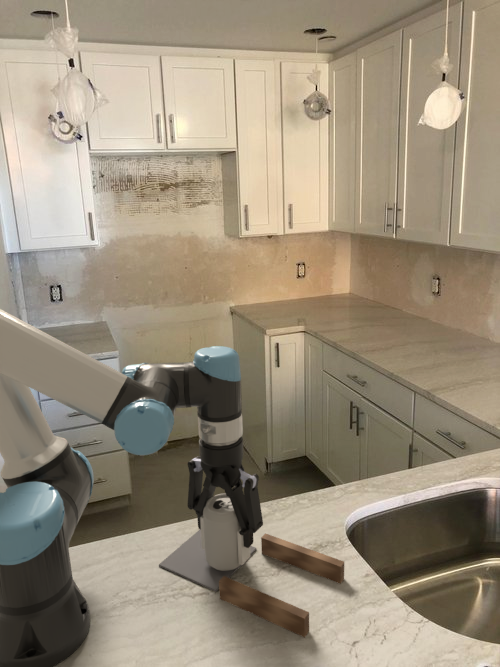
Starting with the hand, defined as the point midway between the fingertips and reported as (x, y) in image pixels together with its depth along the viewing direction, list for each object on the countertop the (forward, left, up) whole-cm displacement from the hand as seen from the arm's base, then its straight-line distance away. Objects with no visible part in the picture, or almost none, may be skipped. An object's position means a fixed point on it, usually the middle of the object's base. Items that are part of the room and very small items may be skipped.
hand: (225, 552), depth 99 cm
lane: (+12, 0, -3) cm, 12 cm away
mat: (-4, 0, -3) cm, 5 cm away
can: (0, 0, -2) cm, 2 cm away
